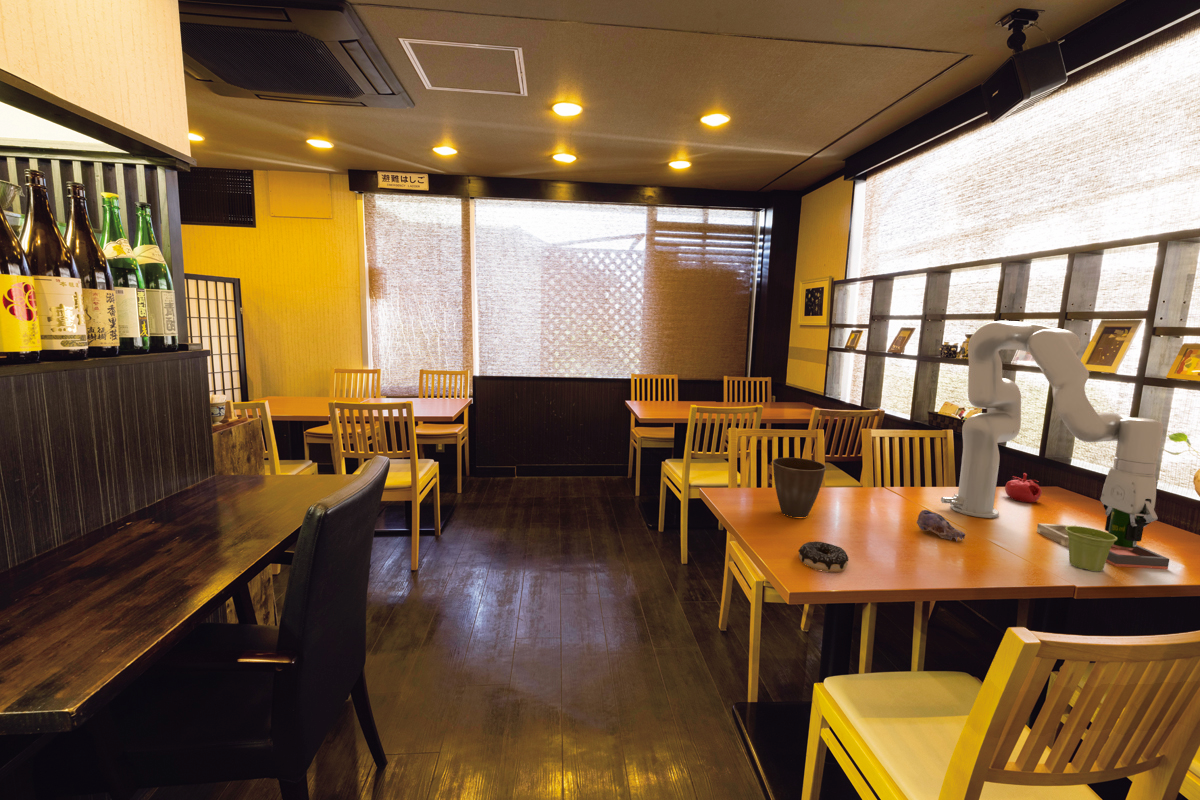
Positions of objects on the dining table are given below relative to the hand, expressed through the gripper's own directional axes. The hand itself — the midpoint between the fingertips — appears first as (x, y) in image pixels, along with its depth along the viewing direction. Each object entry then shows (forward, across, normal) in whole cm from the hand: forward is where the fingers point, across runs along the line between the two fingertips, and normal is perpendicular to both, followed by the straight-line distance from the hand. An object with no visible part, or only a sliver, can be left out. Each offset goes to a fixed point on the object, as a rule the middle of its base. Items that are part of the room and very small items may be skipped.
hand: (1122, 535), depth 136 cm
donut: (+6, +15, -79) cm, 80 cm away
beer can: (+3, 0, 0) cm, 3 cm away
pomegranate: (+6, -48, +8) cm, 49 cm away
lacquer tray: (+6, 0, 0) cm, 6 cm away
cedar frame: (+6, -11, -4) cm, 13 cm away
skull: (+6, -9, -40) cm, 41 cm away
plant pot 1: (+6, -20, -76) cm, 79 cm away
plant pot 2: (+6, +7, -14) cm, 17 cm away
